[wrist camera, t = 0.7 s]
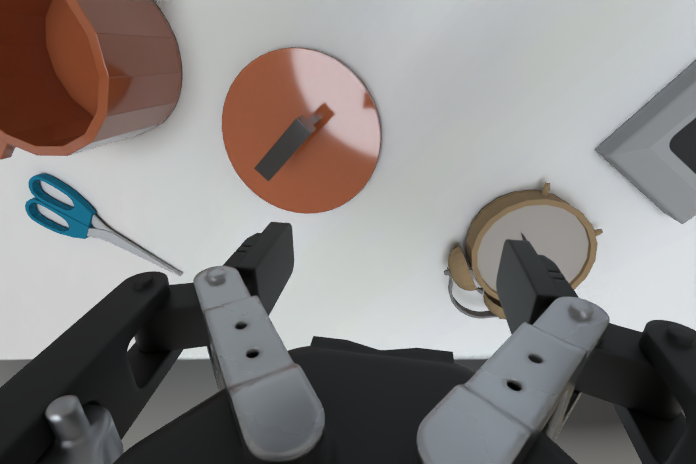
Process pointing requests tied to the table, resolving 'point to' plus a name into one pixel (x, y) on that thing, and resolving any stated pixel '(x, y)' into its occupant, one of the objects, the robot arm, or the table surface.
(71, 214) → the scissors
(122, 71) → the crock
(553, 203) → the alarm clock
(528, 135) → the table surface
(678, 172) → the grey flat box
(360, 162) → the lid
